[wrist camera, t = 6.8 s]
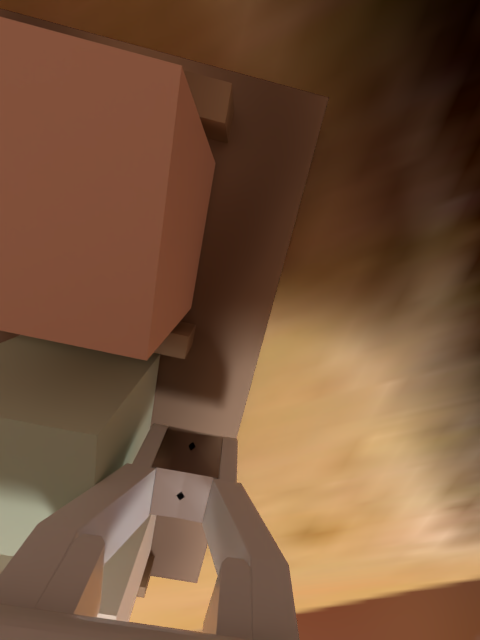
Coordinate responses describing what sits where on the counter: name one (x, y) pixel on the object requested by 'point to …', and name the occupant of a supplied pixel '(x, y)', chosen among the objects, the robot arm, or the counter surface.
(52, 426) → the sage green cube
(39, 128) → the salmon pink cube
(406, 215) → the counter surface
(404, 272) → the counter surface
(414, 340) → the counter surface
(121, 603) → the pale pink cube
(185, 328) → the brown compartment tray
